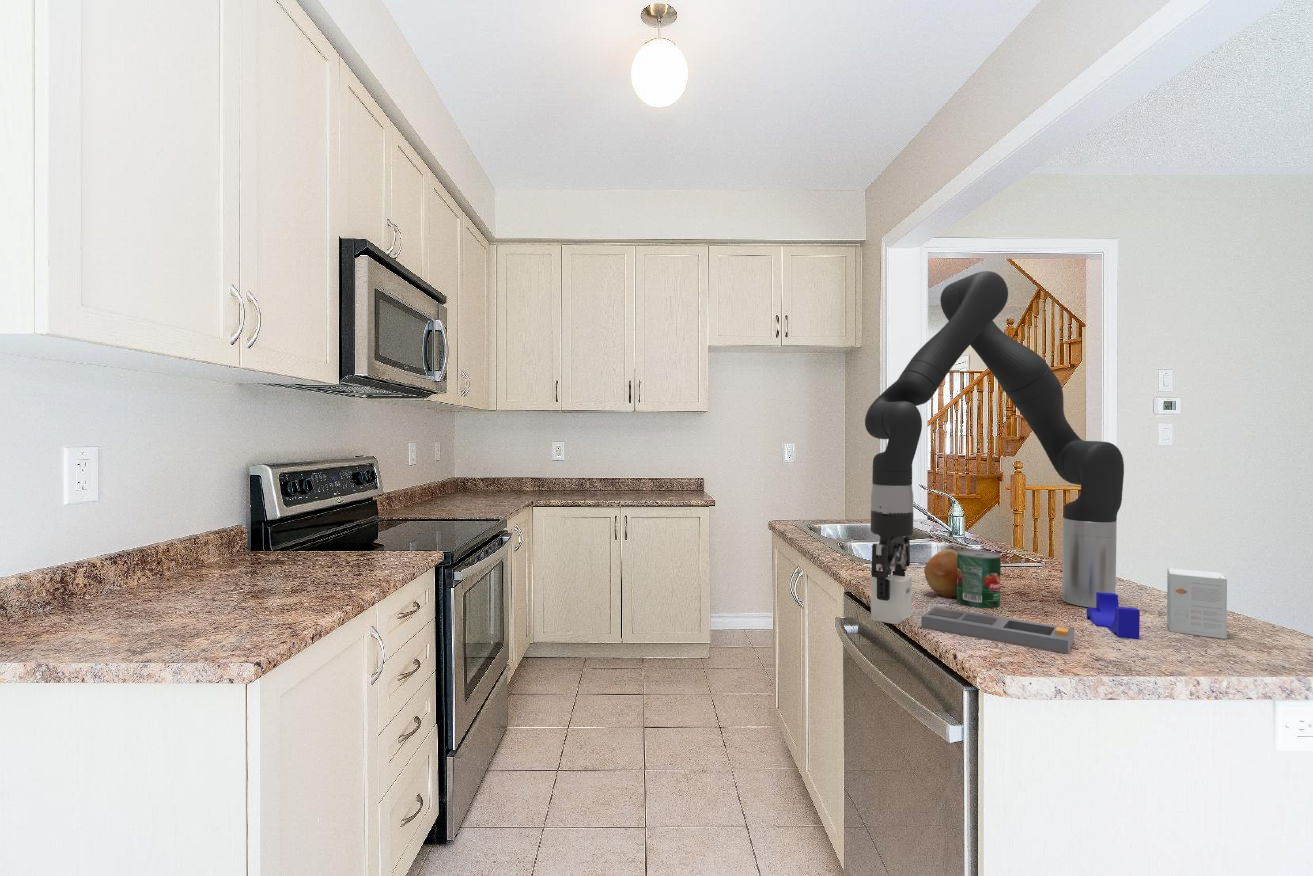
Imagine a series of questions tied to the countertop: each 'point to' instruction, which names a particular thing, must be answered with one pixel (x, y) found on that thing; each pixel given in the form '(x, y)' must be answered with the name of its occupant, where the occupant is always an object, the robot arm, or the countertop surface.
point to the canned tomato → (978, 578)
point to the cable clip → (1115, 616)
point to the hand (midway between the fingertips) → (891, 595)
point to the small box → (1197, 603)
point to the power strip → (1000, 629)
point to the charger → (892, 601)
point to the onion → (943, 573)
